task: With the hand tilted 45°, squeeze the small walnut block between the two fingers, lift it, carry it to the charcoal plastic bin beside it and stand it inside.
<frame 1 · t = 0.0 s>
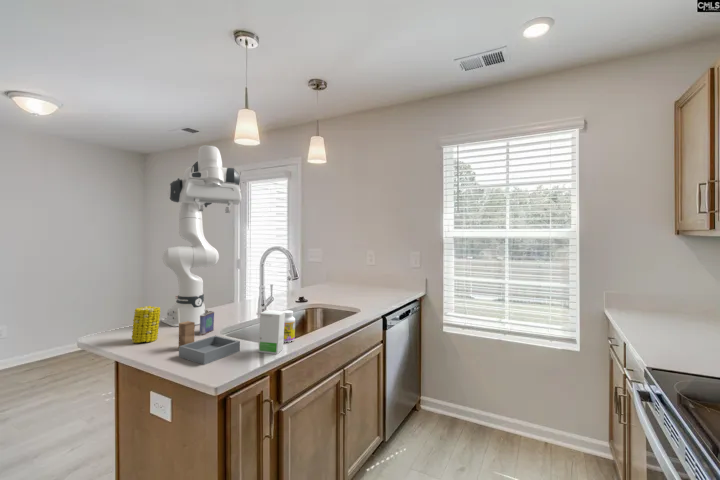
hand: (214, 211, 125), 54 cm above the countertop, tool tilted 30°, fingers open, 8 cm apart
block: (186, 347, 136), on the countertop
supplement bottle: (286, 341, 148), on the countertop
food: (146, 340, 143), on the countertop
flask: (206, 332, 157), on the countertop
skincare box: (271, 351, 135), on the countertop
bin: (210, 354, 129), on the countertop
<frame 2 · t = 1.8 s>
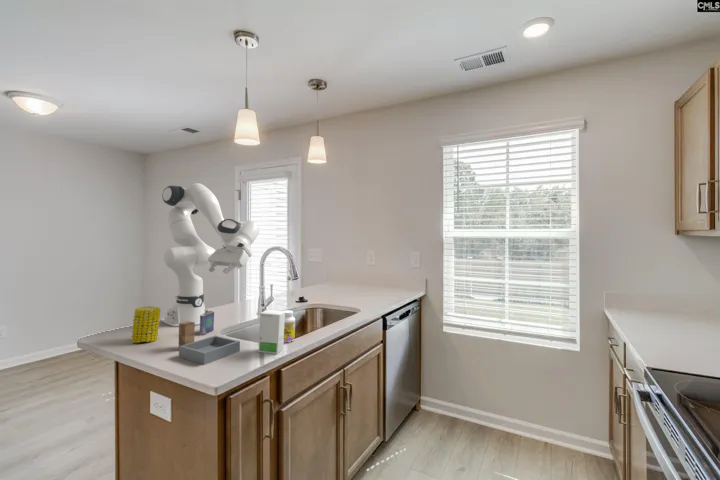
hand: (217, 271, 148), 29 cm above the countertop, tool tilted 45°, fingers open, 8 cm apart
nothing on the countertop moved.
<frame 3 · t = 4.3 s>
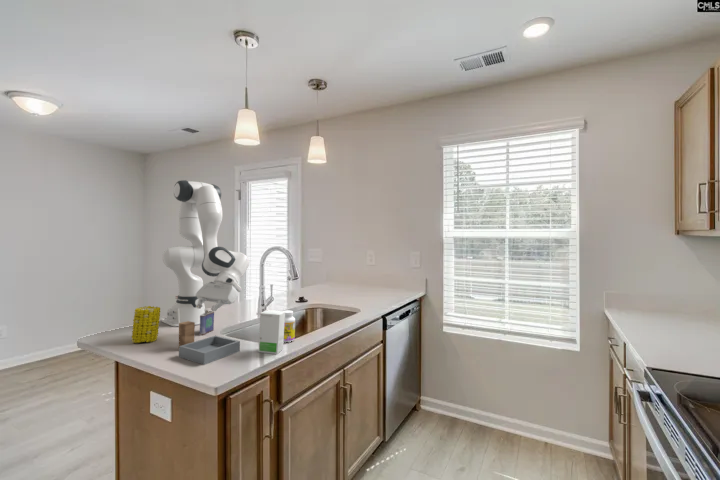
hand: (205, 309, 142), 14 cm above the countertop, tool tilted 45°, fingers open, 8 cm apart
nothing on the countertop moved.
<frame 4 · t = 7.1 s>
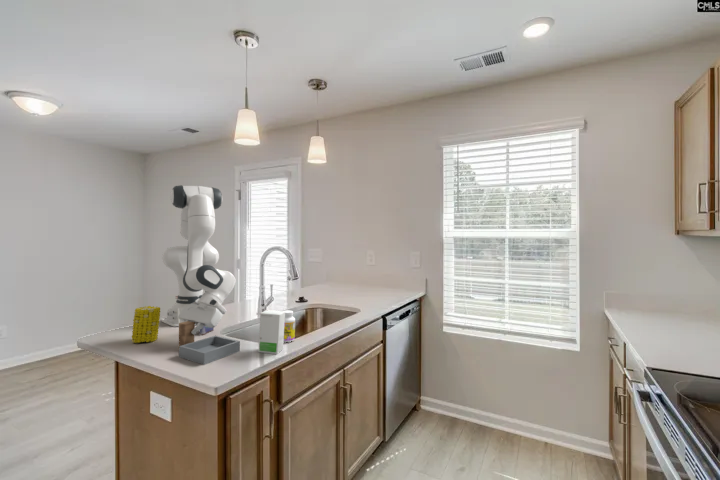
hand: (187, 332, 136), 6 cm above the countertop, tool tilted 45°, fingers closed on block, 4 cm apart
block: (186, 347, 136), on the countertop, touching gripper
everything else where it was.
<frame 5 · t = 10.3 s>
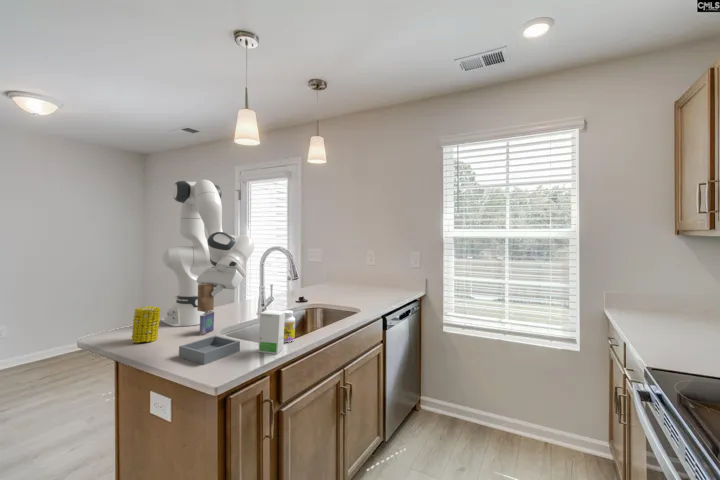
hand: (206, 294, 130), 22 cm above the countertop, tool tilted 45°, fingers closed on block, 4 cm apart
block: (205, 310, 130), point 16 cm above the countertop, touching gripper
everything else where it was.
when the fingers open (8 cm above the countertop, at t = 13.5 s): block drops 1 cm, resting on bin.
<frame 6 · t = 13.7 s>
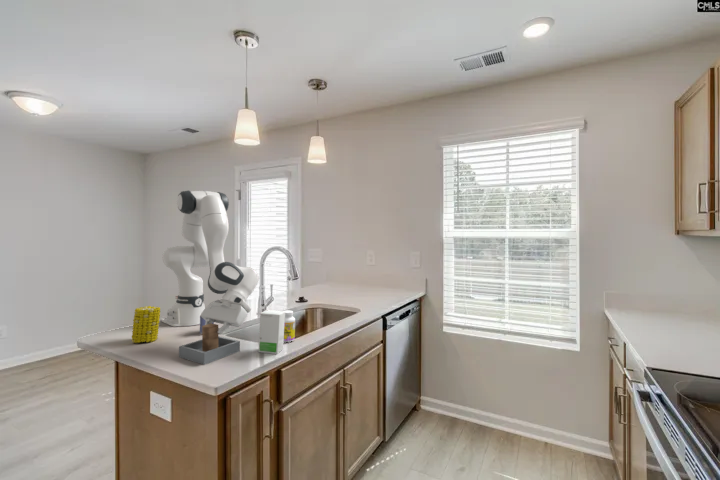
hand: (211, 332, 129), 8 cm above the countertop, tool tilted 45°, fingers open, 6 cm apart
block: (210, 351, 129), point 1 cm above the countertop, touching bin
everything else where it was.
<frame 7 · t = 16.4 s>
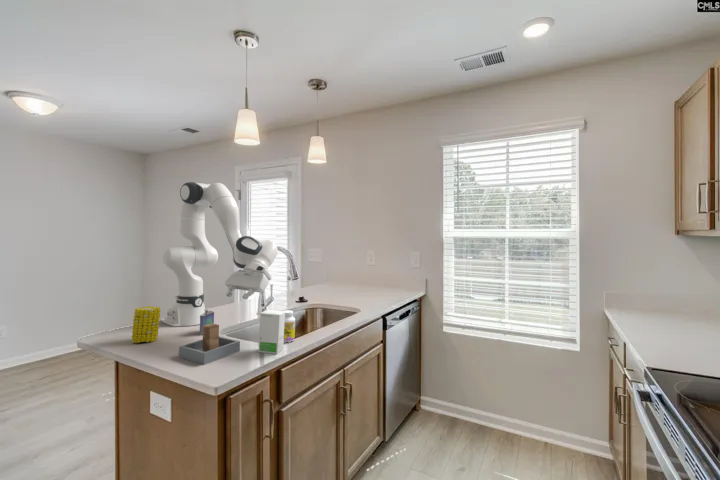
hand: (236, 297, 140), 20 cm above the countertop, tool tilted 45°, fingers open, 8 cm apart
nothing on the countertop moved.
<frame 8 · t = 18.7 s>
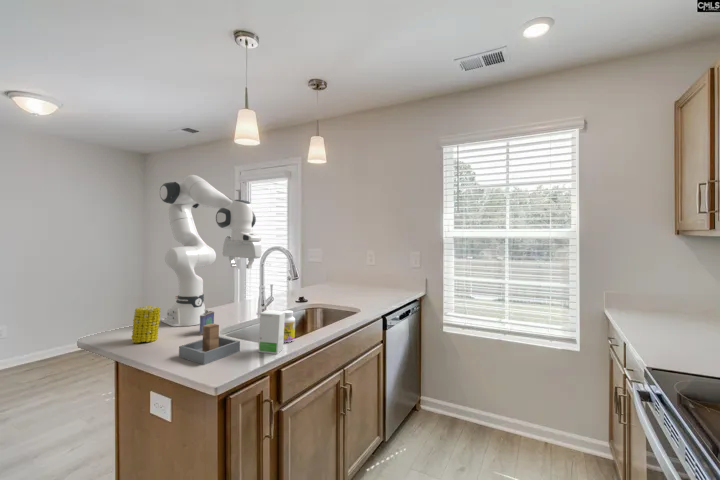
hand: (241, 267, 149), 31 cm above the countertop, tool pointing down, fingers open, 8 cm apart
nothing on the countertop moved.
at the end: block inside the target area on the bin (0.1 cm from its centre), point 1.0 cm above the bin's base; block tilted 0°; the gripper is holding nothing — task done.
